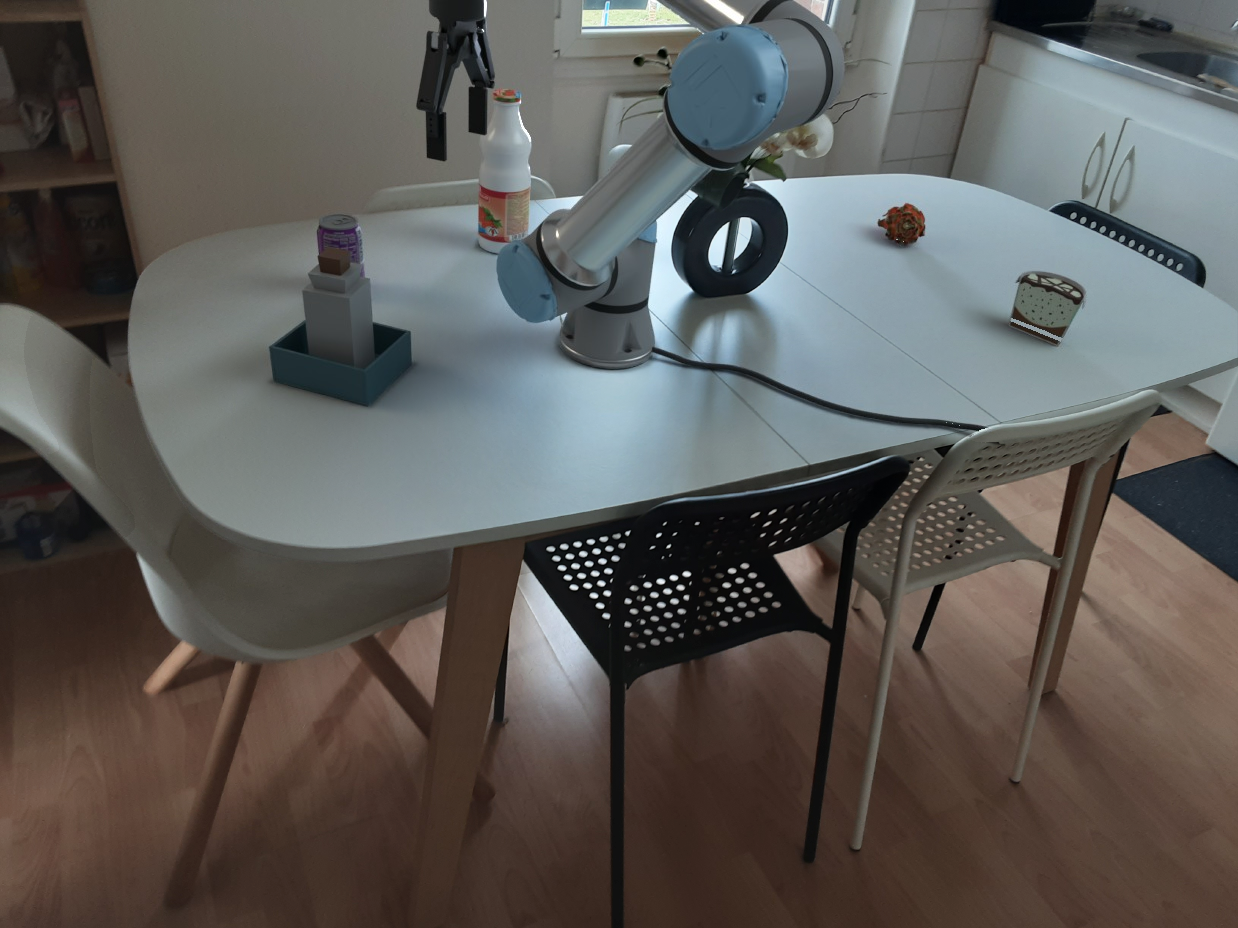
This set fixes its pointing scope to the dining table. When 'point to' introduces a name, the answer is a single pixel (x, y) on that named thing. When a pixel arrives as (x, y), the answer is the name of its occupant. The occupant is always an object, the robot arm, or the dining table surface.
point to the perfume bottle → (339, 311)
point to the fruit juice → (504, 175)
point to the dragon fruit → (903, 224)
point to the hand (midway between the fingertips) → (458, 146)
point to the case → (342, 365)
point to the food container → (1046, 303)
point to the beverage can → (341, 236)
